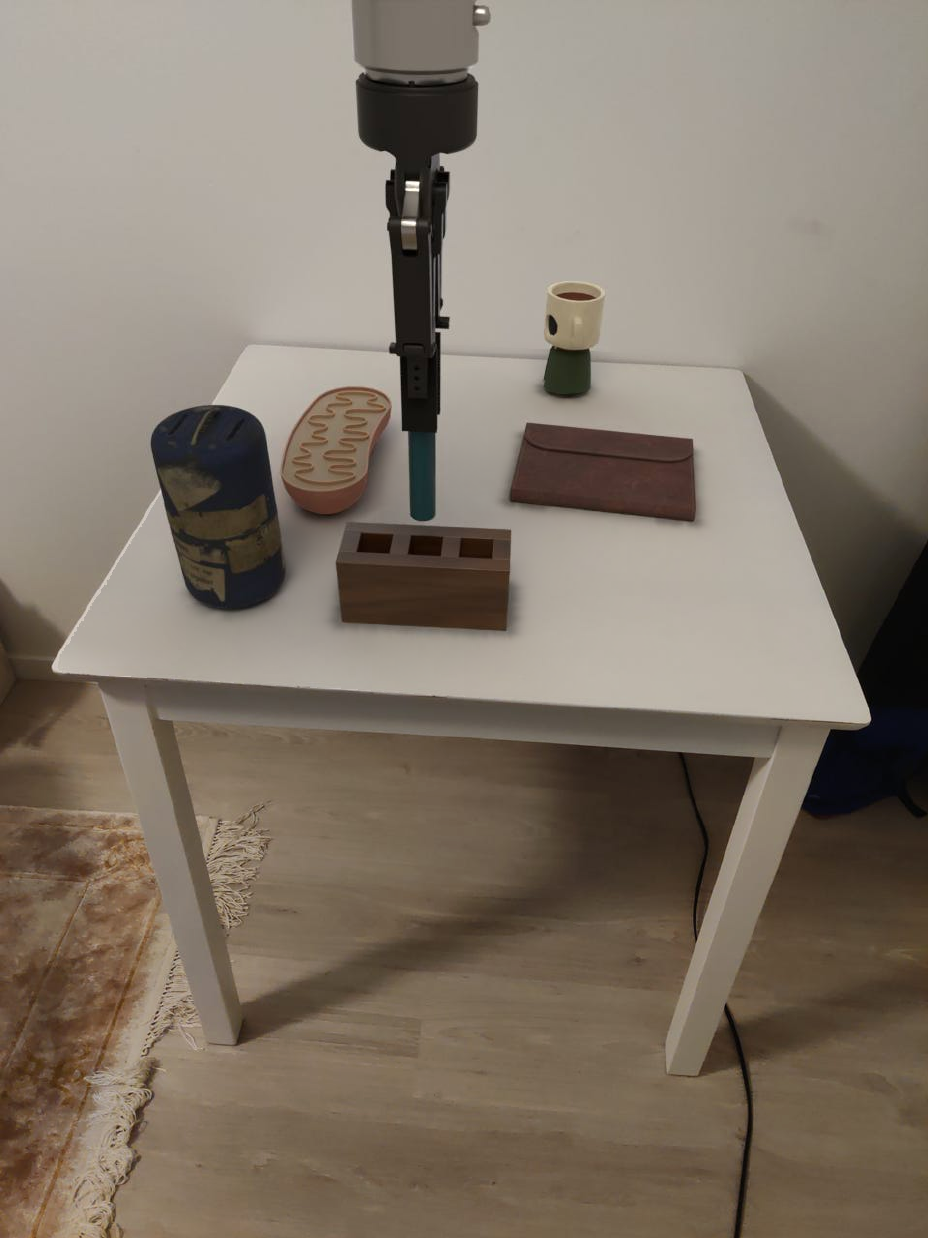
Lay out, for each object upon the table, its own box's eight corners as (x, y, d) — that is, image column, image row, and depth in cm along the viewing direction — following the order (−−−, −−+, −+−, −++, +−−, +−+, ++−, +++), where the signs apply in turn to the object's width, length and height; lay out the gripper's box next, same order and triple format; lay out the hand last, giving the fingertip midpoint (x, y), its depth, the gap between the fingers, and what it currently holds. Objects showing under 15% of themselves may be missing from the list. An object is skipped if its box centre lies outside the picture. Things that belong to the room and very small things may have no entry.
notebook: (693, 523, 91) (696, 507, 90) (509, 502, 93) (510, 487, 92) (689, 451, 102) (693, 436, 101) (525, 434, 104) (526, 419, 103)
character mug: (537, 369, 118) (544, 274, 109) (588, 370, 118) (600, 275, 109) (542, 408, 109) (550, 307, 101) (597, 408, 109) (610, 308, 101)
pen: (418, 524, 72) (415, 329, 61) (405, 512, 74) (399, 318, 62) (440, 516, 73) (441, 323, 62) (426, 504, 75) (425, 312, 63)
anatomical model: (362, 534, 88) (358, 493, 85) (268, 527, 89) (261, 486, 86) (399, 425, 105) (397, 388, 102) (320, 420, 106) (316, 382, 103)
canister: (166, 600, 80) (117, 429, 68) (223, 545, 87) (188, 379, 75) (253, 627, 78) (218, 454, 66) (306, 568, 84) (283, 400, 72)
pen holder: (506, 630, 78) (510, 570, 73) (341, 622, 78) (335, 562, 74) (507, 588, 82) (511, 529, 78) (352, 580, 83) (346, 521, 78)
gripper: (472, 99, 46) (463, 474, 62) (484, 52, 57) (473, 379, 73) (333, 94, 46) (359, 469, 62) (373, 48, 58) (386, 374, 73)
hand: (421, 419), depth 67 cm, fingers closed on pen, 2 cm apart
